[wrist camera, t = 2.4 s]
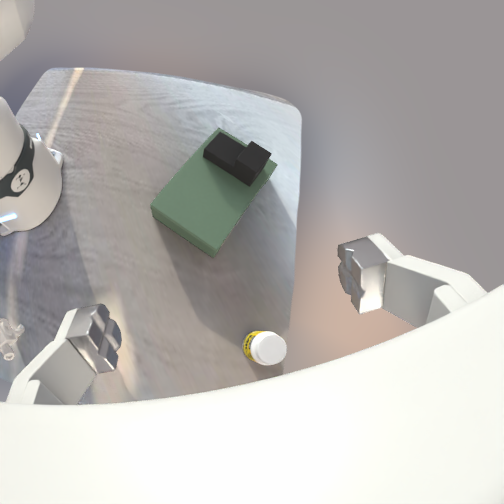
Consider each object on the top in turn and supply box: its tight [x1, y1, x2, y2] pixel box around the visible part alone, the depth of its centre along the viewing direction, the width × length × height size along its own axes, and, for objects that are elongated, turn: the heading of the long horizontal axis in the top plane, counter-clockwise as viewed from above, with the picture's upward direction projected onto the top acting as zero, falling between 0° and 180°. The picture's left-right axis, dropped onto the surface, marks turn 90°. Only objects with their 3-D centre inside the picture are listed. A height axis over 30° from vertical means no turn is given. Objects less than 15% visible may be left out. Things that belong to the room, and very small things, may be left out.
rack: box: [150, 128, 277, 258], centre depth 46 cm, size 12×18×5 cm, turn 148°
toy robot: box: [0, 319, 25, 360], centre depth 29 cm, size 4×8×12 cm, turn 40°
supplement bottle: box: [242, 331, 287, 365], centre depth 40 cm, size 5×5×8 cm
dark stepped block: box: [203, 132, 271, 187], centre depth 43 cm, size 9×4×5 cm, turn 58°
